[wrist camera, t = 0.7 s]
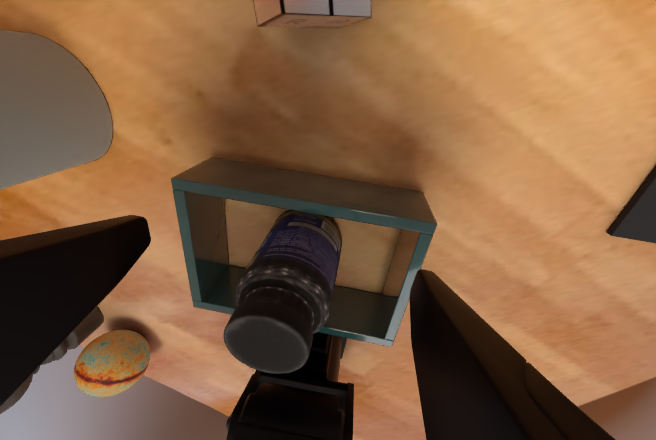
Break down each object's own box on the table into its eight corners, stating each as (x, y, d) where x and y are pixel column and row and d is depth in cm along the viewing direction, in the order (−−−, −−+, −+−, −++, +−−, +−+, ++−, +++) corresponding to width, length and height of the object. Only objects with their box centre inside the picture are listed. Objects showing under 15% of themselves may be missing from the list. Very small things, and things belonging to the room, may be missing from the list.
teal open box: (388, 301, 26) (391, 347, 22) (222, 269, 27) (193, 307, 23) (423, 191, 20) (437, 223, 16) (211, 156, 21) (170, 177, 17)
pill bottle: (270, 203, 23) (195, 298, 13) (342, 206, 22) (320, 309, 12) (278, 262, 25) (222, 375, 16) (342, 266, 25) (324, 389, 15)
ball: (156, 360, 37) (114, 417, 31) (107, 338, 36) (53, 391, 30) (168, 334, 34) (123, 392, 27) (115, 308, 33) (56, 362, 26)
